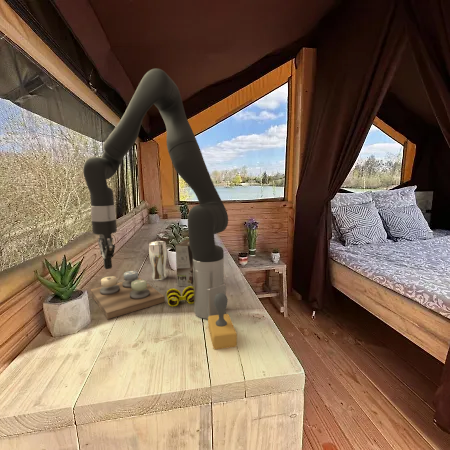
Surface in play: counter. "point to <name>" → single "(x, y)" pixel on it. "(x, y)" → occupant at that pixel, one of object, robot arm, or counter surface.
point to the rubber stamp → (221, 325)
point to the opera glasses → (176, 294)
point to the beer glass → (158, 259)
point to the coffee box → (184, 264)
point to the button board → (124, 298)
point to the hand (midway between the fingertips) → (108, 268)
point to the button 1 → (108, 281)
